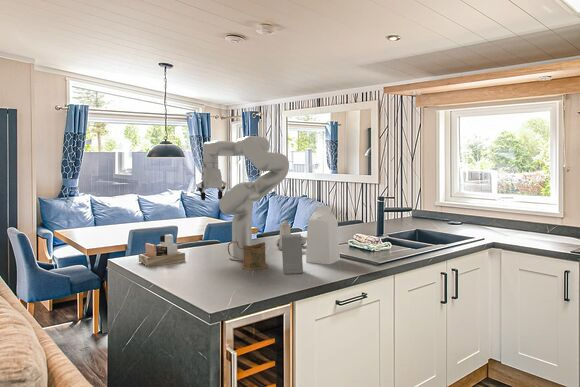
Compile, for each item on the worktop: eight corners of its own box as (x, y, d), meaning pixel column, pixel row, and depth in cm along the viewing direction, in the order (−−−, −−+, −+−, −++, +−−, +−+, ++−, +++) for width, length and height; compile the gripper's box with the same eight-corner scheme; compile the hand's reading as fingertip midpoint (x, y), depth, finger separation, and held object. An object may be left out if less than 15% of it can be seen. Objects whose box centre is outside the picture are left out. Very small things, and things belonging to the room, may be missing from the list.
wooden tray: (185, 261, 214) (185, 252, 213) (148, 266, 202) (148, 257, 202) (174, 257, 223) (174, 249, 223) (138, 262, 212) (138, 254, 211)
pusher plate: (155, 262, 206) (155, 245, 206) (153, 262, 205) (152, 245, 205) (148, 259, 213) (147, 243, 213) (145, 260, 212) (145, 243, 212)
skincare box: (302, 270, 189) (301, 233, 188) (303, 274, 182) (302, 235, 181) (282, 270, 189) (281, 233, 188) (282, 274, 182) (281, 236, 181)
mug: (225, 266, 199) (224, 240, 199) (263, 263, 205) (262, 237, 205) (231, 272, 188) (230, 243, 188) (271, 268, 194) (270, 241, 194)
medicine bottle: (156, 260, 212) (155, 234, 212) (167, 257, 219) (166, 233, 218) (167, 261, 209) (166, 235, 209) (178, 258, 215) (177, 233, 215)
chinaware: (302, 257, 229) (304, 224, 228) (270, 253, 231) (272, 221, 230) (307, 247, 256) (310, 219, 255) (279, 244, 259) (281, 216, 258)
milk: (340, 259, 211) (339, 205, 210) (329, 264, 201) (328, 206, 200) (317, 257, 217) (316, 204, 216) (306, 262, 207) (305, 206, 206)
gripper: (199, 166, 221) (200, 200, 221) (229, 166, 231) (230, 199, 232) (192, 166, 226) (193, 200, 227) (222, 166, 237) (222, 198, 238)
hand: (211, 199), depth 230 cm, fingers open, 9 cm apart
